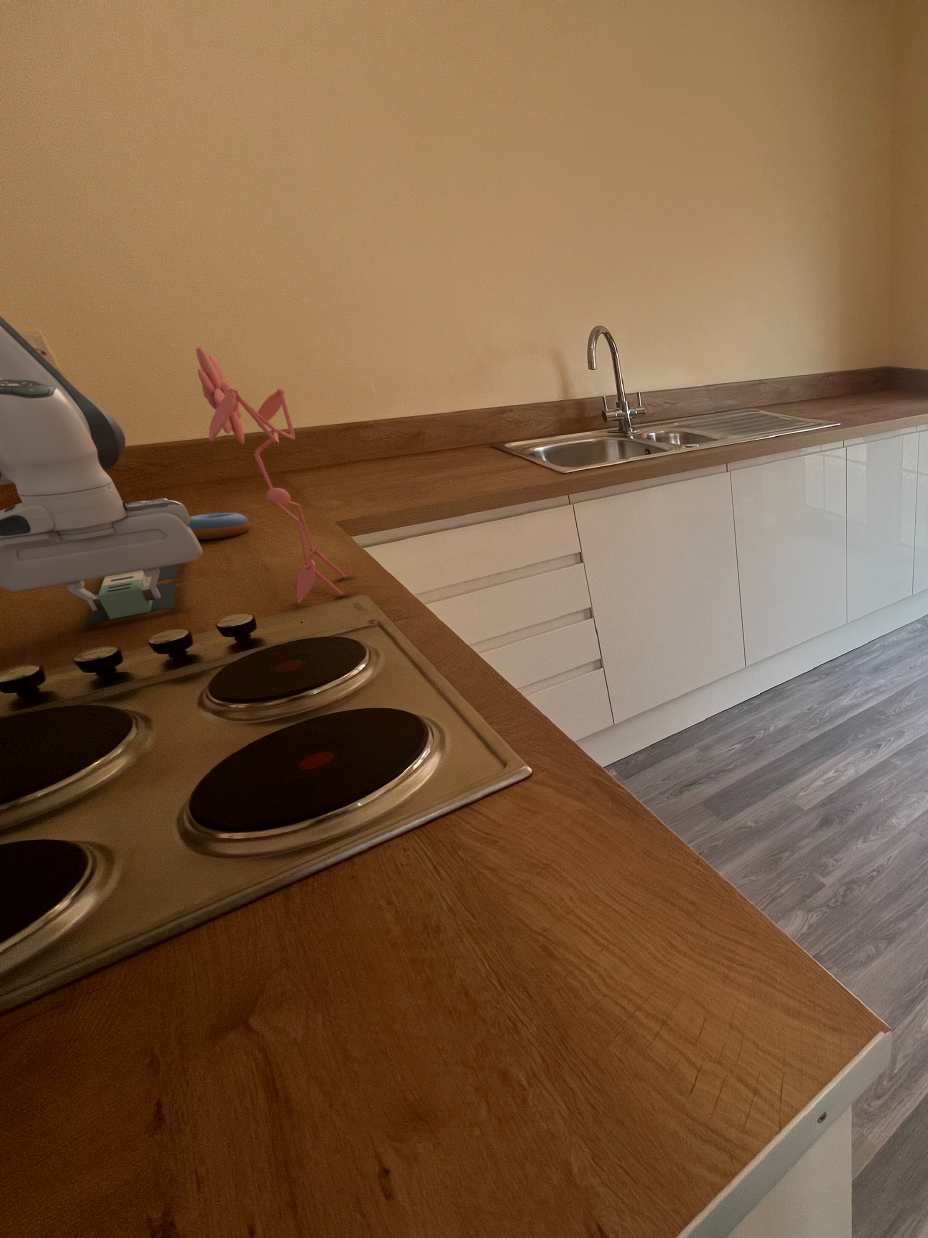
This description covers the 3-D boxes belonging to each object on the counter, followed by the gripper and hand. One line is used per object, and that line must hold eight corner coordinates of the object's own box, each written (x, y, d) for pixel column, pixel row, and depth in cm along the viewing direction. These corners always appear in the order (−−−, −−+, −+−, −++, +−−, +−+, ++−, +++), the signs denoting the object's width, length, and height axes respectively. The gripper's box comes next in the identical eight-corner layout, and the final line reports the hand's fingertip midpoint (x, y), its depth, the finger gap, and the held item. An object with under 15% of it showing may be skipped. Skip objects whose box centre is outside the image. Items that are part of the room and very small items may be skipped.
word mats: (88, 628, 96) (85, 623, 96) (110, 570, 117) (108, 566, 117) (174, 610, 101) (172, 606, 101) (180, 558, 122) (179, 554, 122)
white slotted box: (113, 609, 100) (100, 585, 99) (116, 601, 103) (103, 577, 101) (152, 602, 103) (140, 578, 101) (153, 594, 105) (142, 571, 104)
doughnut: (239, 526, 139) (230, 504, 137) (262, 534, 134) (252, 511, 132) (177, 540, 131) (166, 517, 129) (198, 548, 127) (187, 524, 125)
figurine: (353, 561, 119) (275, 341, 104) (347, 612, 100) (250, 349, 84) (241, 579, 112) (139, 345, 97) (210, 638, 93) (76, 355, 77)
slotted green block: (110, 619, 97) (96, 595, 95) (113, 610, 100) (100, 586, 98) (150, 611, 99) (138, 587, 98) (152, 602, 102) (140, 579, 101)
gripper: (181, 491, 101) (221, 580, 107) (-29, 518, 89) (30, 616, 96) (179, 500, 97) (221, 591, 103) (-41, 529, 85) (21, 630, 91)
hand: (127, 603), depth 99 cm, fingers closed on slotted green block, 4 cm apart
